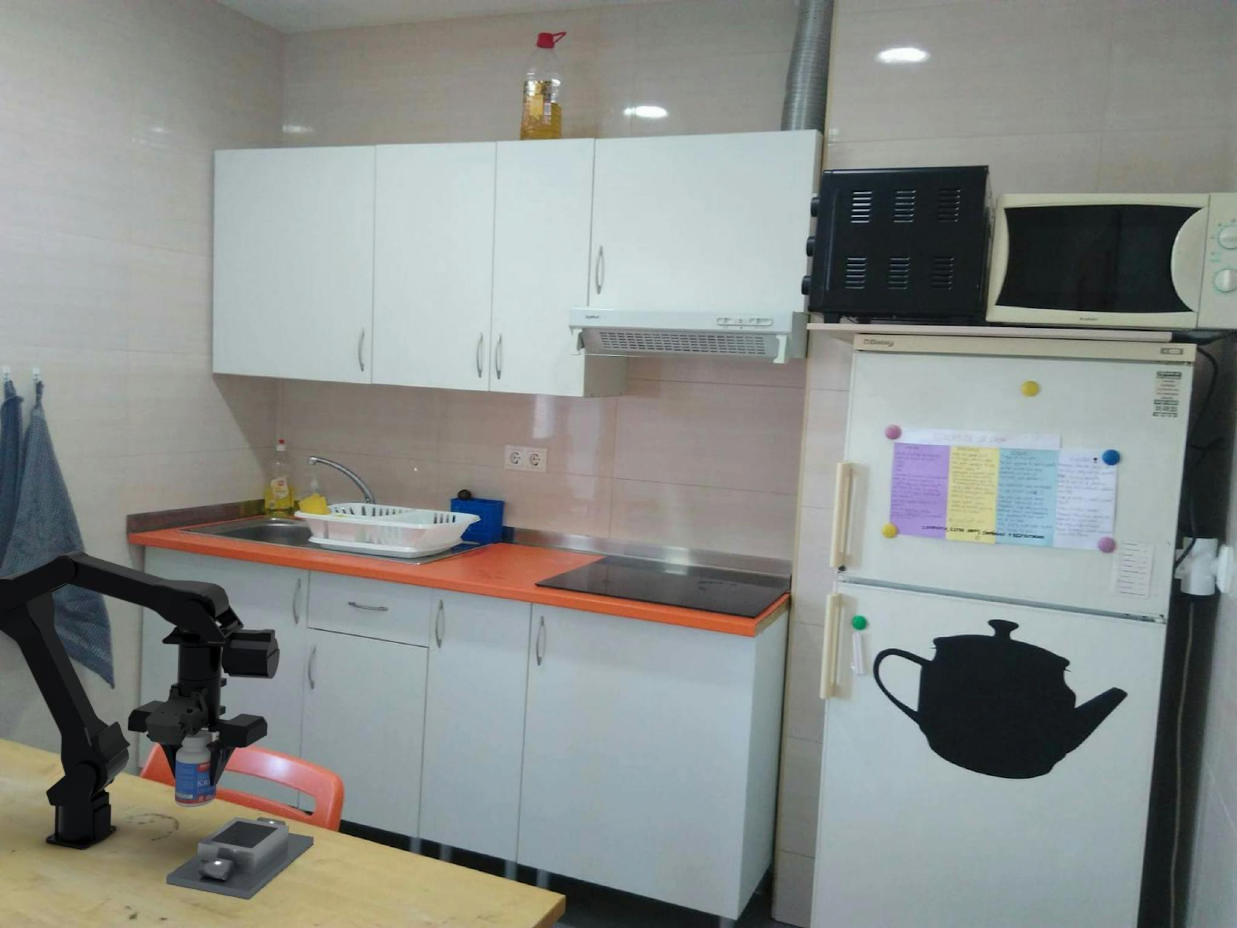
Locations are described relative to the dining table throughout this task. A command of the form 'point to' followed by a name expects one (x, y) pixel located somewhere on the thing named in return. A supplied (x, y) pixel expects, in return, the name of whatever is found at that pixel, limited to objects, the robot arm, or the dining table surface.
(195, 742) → the pill bottle
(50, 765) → the dining table surface
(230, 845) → the base
